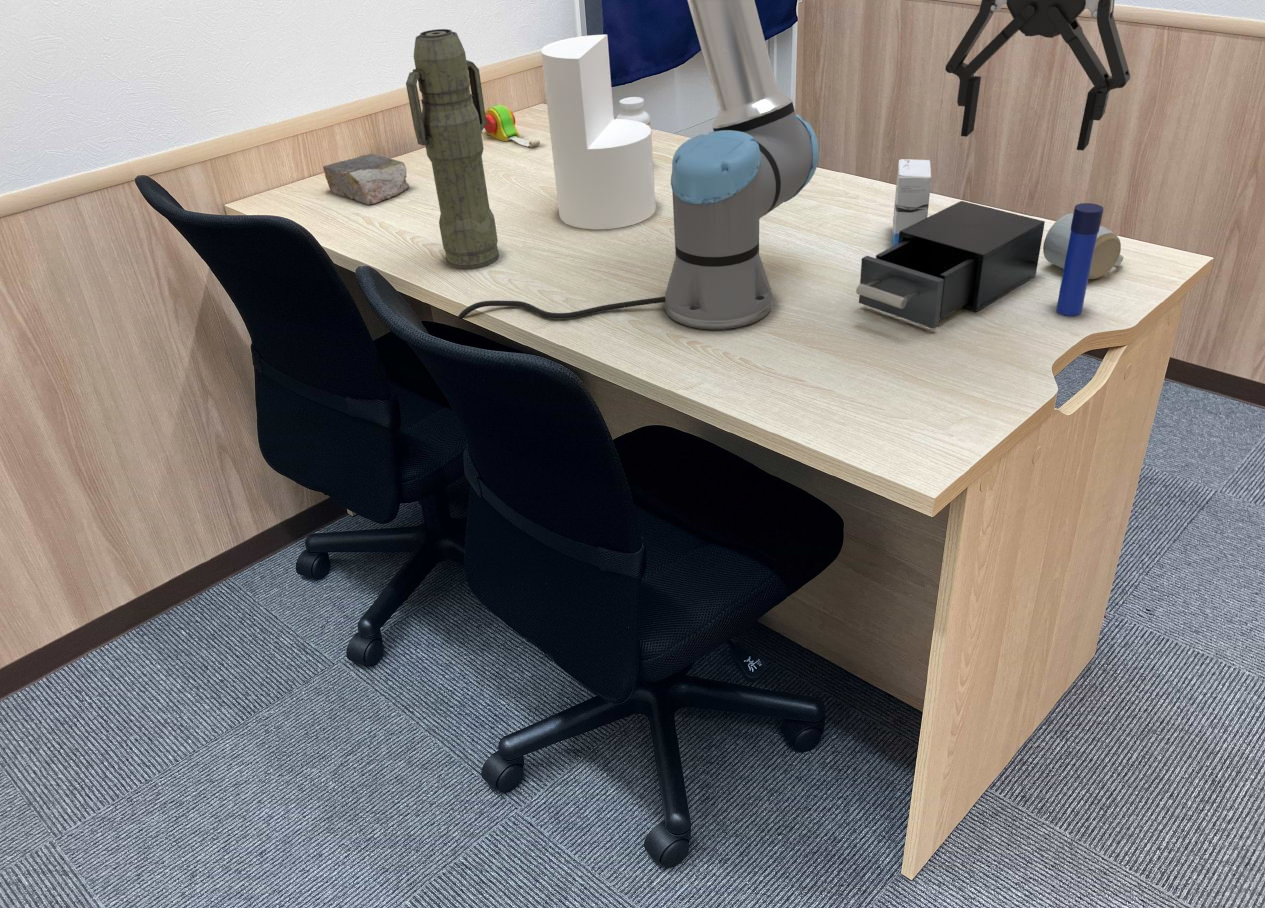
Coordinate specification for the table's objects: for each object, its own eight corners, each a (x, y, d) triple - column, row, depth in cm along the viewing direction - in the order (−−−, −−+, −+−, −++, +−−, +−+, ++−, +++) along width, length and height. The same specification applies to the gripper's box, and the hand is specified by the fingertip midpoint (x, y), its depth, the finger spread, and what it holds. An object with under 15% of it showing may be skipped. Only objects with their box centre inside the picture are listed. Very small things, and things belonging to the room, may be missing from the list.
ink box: (925, 250, 154) (932, 176, 148) (892, 250, 155) (898, 176, 149) (923, 230, 161) (930, 157, 155) (891, 229, 162) (897, 158, 156)
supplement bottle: (615, 164, 199) (610, 98, 192) (646, 159, 201) (642, 93, 193) (624, 174, 194) (620, 106, 187) (657, 168, 195) (653, 101, 188)
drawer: (914, 340, 129) (919, 293, 125) (839, 313, 137) (841, 267, 133) (993, 293, 139) (1000, 247, 135) (919, 270, 147) (923, 226, 143)
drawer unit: (976, 312, 136) (984, 255, 132) (894, 286, 145) (899, 231, 140) (1035, 276, 144) (1045, 221, 140) (954, 253, 153) (961, 200, 148)
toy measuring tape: (498, 128, 227) (494, 98, 223) (548, 143, 214) (544, 112, 211) (474, 134, 224) (469, 104, 220) (524, 151, 211) (520, 119, 207)
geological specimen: (367, 151, 201) (410, 160, 192) (373, 181, 204) (416, 191, 195) (320, 164, 195) (362, 174, 185) (328, 195, 198) (369, 206, 188)
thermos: (517, 252, 165) (486, 26, 145) (463, 276, 158) (422, 43, 138) (482, 241, 170) (448, 22, 151) (428, 264, 163) (384, 37, 144)
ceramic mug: (1080, 287, 140) (1091, 235, 136) (1037, 267, 147) (1047, 217, 142) (1135, 271, 144) (1148, 220, 140) (1091, 252, 150) (1102, 203, 146)
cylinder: (546, 228, 173) (526, 59, 158) (574, 193, 187) (558, 35, 171) (643, 230, 169) (632, 57, 154) (664, 195, 183) (656, 33, 167)
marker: (1074, 318, 133) (1095, 214, 125) (1050, 311, 135) (1069, 208, 127) (1087, 310, 135) (1108, 206, 127) (1063, 303, 137) (1083, 201, 129)
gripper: (1188, -58, 105) (1140, 143, 117) (953, -64, 117) (932, 119, 129) (1176, -47, 100) (1127, 162, 112) (932, -54, 112) (912, 136, 124)
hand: (1023, 140), depth 120 cm, fingers open, 13 cm apart
